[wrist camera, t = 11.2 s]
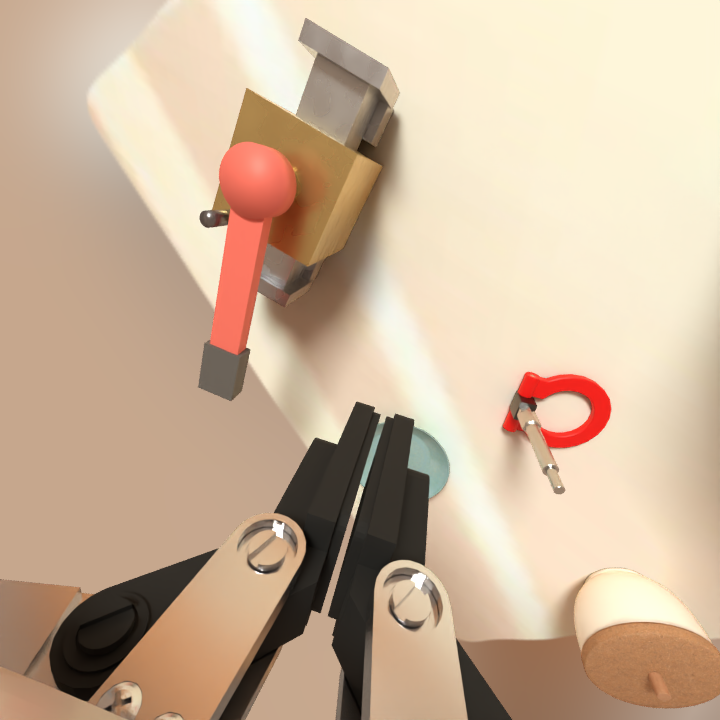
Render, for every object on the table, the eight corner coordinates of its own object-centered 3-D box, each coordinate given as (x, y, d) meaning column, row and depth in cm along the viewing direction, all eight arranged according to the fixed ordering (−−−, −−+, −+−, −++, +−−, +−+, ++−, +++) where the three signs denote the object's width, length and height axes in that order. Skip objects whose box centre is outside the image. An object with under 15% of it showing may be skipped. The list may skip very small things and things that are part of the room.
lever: (242, 136, 22) (224, 130, 20) (303, 160, 21) (290, 156, 20) (206, 372, 30) (191, 384, 28) (250, 391, 29) (237, 404, 28)
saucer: (384, 501, 48) (382, 514, 46) (334, 433, 45) (329, 445, 43) (467, 473, 43) (468, 487, 41) (416, 396, 40) (415, 407, 38)
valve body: (327, 52, 29) (242, -50, 17) (412, 104, 29) (388, 39, 17) (255, 253, 37) (163, 280, 25) (322, 292, 37) (262, 337, 25)
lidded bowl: (676, 622, 45) (740, 741, 35) (564, 618, 49) (594, 724, 39) (678, 550, 41) (751, 662, 31) (555, 552, 45) (586, 652, 35)
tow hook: (622, 383, 35) (526, 361, 36) (717, 477, 24) (573, 443, 24) (583, 449, 39) (497, 428, 40) (649, 558, 27) (526, 526, 28)
